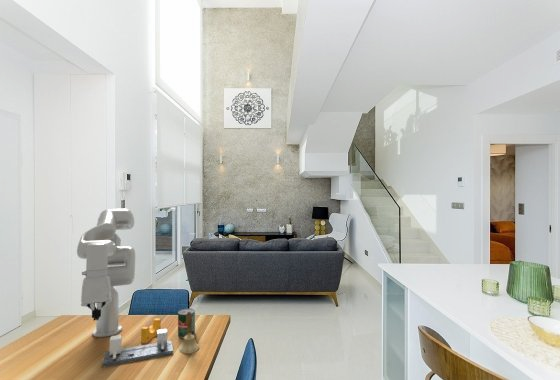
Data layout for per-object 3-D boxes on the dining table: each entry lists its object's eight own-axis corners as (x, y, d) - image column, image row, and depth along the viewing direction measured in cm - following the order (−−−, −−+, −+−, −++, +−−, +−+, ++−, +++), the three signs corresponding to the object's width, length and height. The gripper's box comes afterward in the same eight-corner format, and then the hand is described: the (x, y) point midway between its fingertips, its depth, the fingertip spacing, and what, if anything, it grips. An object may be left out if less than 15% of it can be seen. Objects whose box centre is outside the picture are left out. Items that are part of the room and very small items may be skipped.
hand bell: (180, 355, 131) (181, 316, 132) (178, 347, 139) (178, 310, 139) (201, 351, 135) (201, 313, 135) (197, 343, 142) (197, 307, 143)
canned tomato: (194, 330, 156) (194, 307, 157) (195, 336, 149) (195, 313, 149) (177, 332, 154) (177, 309, 154) (177, 339, 146) (177, 315, 147)
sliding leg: (110, 350, 132) (110, 336, 132) (121, 348, 133) (121, 334, 133) (108, 360, 124) (108, 345, 124) (119, 358, 125) (119, 343, 125)
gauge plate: (105, 355, 132) (105, 337, 132) (171, 343, 142) (171, 326, 142) (102, 367, 122) (102, 347, 123) (172, 354, 132) (173, 336, 133)
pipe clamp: (152, 331, 155) (152, 318, 155) (160, 331, 155) (160, 318, 155) (137, 342, 143) (137, 328, 144) (146, 343, 143) (146, 328, 143)
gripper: (73, 277, 122) (72, 325, 121) (116, 273, 128) (116, 319, 127) (77, 273, 129) (76, 318, 128) (118, 269, 135) (117, 313, 134)
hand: (96, 319), depth 128 cm, fingers closed
